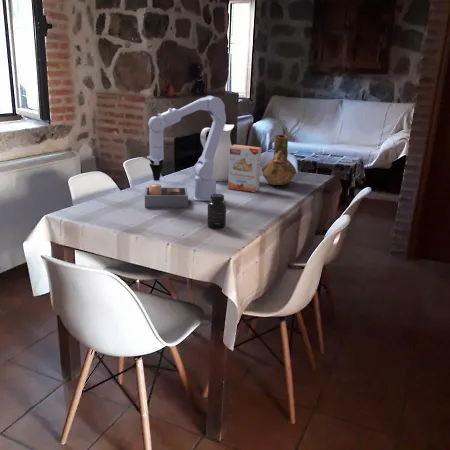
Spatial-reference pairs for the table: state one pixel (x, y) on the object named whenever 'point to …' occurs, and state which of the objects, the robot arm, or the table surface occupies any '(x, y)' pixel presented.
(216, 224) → the supplement bottle
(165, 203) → the tote
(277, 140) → the ceramic vessel
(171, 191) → the cube
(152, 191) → the peach rounded capsule
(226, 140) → the pitcher
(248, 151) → the cracker box
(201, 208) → the table surface
